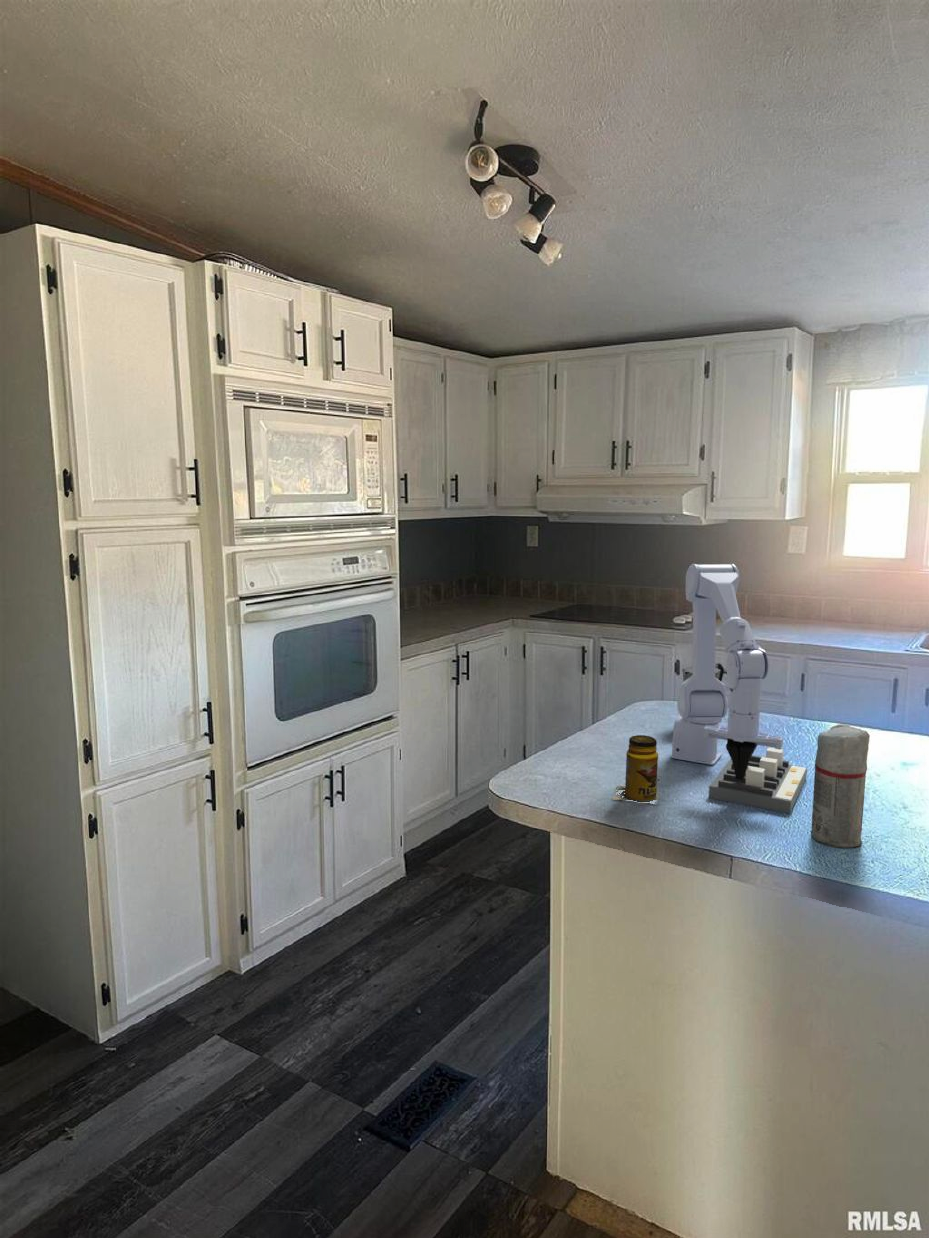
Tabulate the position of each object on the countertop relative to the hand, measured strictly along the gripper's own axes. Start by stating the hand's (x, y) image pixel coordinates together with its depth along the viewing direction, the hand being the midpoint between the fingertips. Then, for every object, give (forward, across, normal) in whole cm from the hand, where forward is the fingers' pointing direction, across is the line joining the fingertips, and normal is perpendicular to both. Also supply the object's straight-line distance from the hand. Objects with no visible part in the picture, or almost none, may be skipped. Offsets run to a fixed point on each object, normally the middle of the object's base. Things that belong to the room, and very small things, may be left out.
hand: (740, 777), depth 154 cm
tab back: (+1, +4, +14) cm, 15 cm away
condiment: (+4, -18, -10) cm, 21 cm away
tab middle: (+1, +4, +7) cm, 8 cm away
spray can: (+4, +18, -11) cm, 22 cm away
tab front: (+1, +3, 0) cm, 3 cm away
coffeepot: (+4, -19, +44) cm, 48 cm away
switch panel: (+4, +2, +7) cm, 8 cm away
